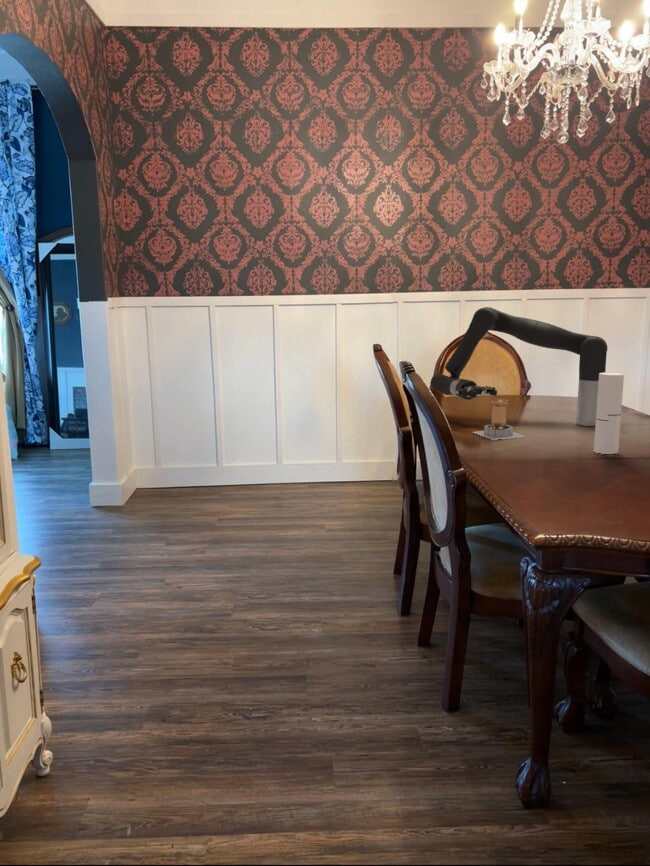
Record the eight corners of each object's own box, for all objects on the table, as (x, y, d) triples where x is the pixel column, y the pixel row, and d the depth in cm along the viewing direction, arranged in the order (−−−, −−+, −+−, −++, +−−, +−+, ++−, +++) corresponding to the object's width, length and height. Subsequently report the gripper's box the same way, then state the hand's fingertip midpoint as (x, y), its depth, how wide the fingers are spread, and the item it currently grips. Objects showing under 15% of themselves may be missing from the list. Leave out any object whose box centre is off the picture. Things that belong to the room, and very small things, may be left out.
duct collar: (503, 430, 255) (504, 422, 255) (524, 437, 243) (525, 429, 243) (472, 433, 251) (473, 425, 251) (492, 440, 239) (492, 431, 239)
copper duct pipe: (500, 431, 251) (502, 398, 248) (509, 434, 245) (511, 400, 243) (486, 432, 249) (487, 399, 247) (495, 435, 244) (496, 401, 241)
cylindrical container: (620, 455, 216) (626, 375, 211) (595, 454, 217) (601, 375, 212) (615, 450, 223) (621, 372, 218) (591, 449, 224) (597, 372, 219)
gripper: (447, 380, 268) (468, 385, 253) (479, 378, 272) (502, 382, 257) (447, 399, 269) (468, 405, 254) (479, 396, 274) (502, 402, 259)
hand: (485, 393), depth 256 cm, fingers open, 8 cm apart
